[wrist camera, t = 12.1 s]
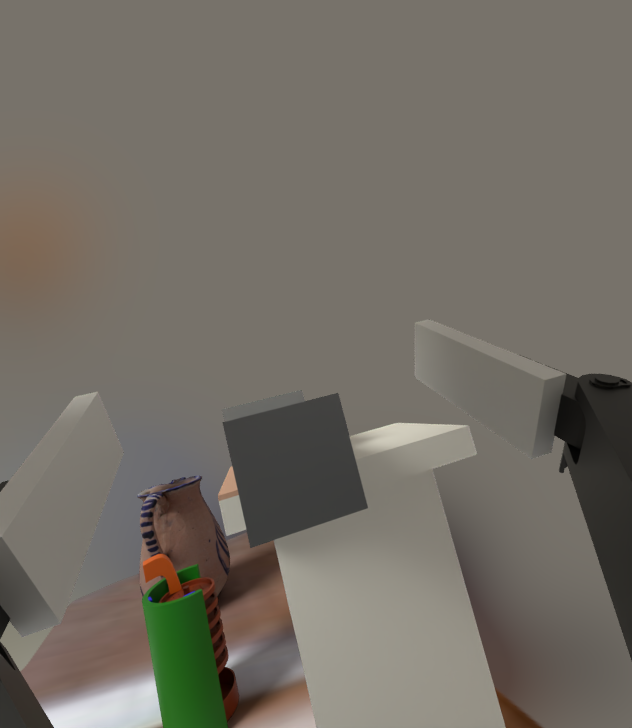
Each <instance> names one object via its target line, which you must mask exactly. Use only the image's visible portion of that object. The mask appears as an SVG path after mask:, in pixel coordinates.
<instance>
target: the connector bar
mask: <svg viewBox="0 0 632 728" xmlns="http://www.w3.org/2000/svg"><path fill="white" fill-rule="evenodd" d="M222 412H223V417H224V421H225V422H223V426H224V431H225V435H226V440H227V444H228V448H229V453H230V457H231V462H232V467H233V471H234V476H235V480H236V485H237V489H238V494H239V498H240V503H241V507H242V512H243V516H244V521H245V525H246V530H247V534H248V539H249V543H250V548H252V547H255V546H258V545H261V544H264V543H267V542H270V541H272V540H275V539H278V538H281V537H284V536H287V535H290V534H293V533H296V532H299V531H302V530H305V529H308V528H311V527H314V526H317V525H320V524H323V523H326V522H329V521H332V520H335V519H338V518H340V517H343V516H346V515H349V514H352V513H355V512H358V511H361V510H364V509H367V508H368V506H367V502H366V498H365V494H364V490H363V486H362V483H361V479H360V475H359V471H358V467H357V463H356V460H355V456H354V452H353V448H352V444H351V440H350V437H349V433H348V429H347V425H346V421H345V417H344V414H343V410H342V406H341V402H340V398H339V394H338V393H336V394H332V395H328V396H324V397H320V398H316V399H312V400H309V401H304V397H303V393H302V390H300V391H296V392H292V393H288V394H283V395H279V396H275V397H271V398H267V399H263V400H259V401H255V402H251V403H247V404H243V405H239V406H235V407H231V408H227V409H223V410H222Z"/></svg>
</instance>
